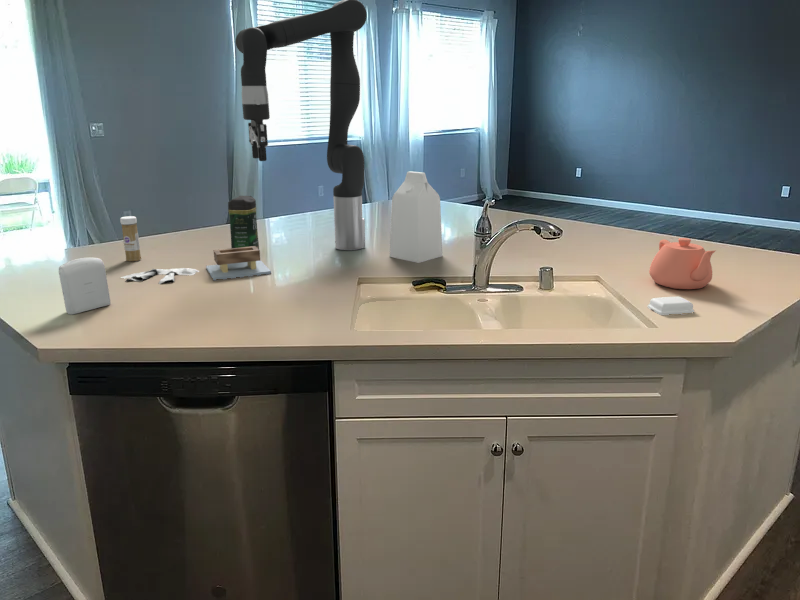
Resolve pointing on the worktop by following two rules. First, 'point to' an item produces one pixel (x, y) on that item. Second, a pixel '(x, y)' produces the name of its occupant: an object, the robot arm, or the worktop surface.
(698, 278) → the teapot
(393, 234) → the milk
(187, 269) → the cloth
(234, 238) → the coffee jar
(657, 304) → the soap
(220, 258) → the frame
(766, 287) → the worktop surface
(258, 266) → the panel
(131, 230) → the sprinkles bottle
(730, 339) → the worktop surface
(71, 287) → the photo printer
